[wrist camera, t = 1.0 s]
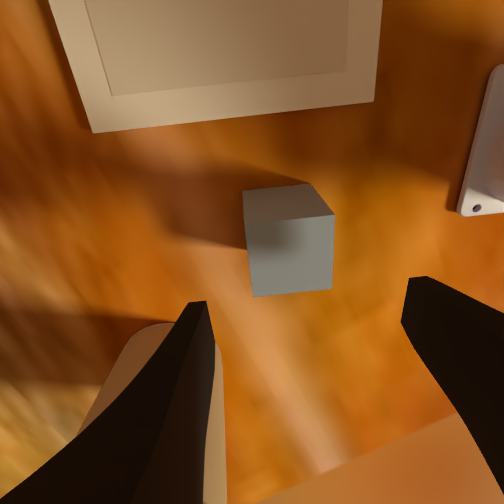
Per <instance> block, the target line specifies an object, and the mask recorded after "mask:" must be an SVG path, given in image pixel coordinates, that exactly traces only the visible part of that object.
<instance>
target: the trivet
mask: <svg viewBox="0 0 504 504" xmlns="http://www.w3.org/2000/svg"><path fill="white" fill-rule="evenodd" d="M48 1H49V4H50V7H51V10H52V13H53V16H54V19H55V22H56V25H57V28H58V31H59V34H60V37H61V40H62V43H63V46H64V49H65V52H66V55H67V58H68V61H69V64H70V66H71V69H72V72H73V75H74V78H75V81H76V84H77V87H78V90H79V93H80V96H81V99H82V102H83V105H84V108H85V111H86V114H87V117H88V120H89V123H90V126H91V129H92V132H93V133H102V132H111V131H120V130H128V129H137V128H146V127H155V126H164V125H173V124H181V123H190V122H199V121H208V120H217V119H226V118H234V117H243V116H252V115H261V114H270V113H278V112H287V111H296V110H305V109H314V108H323V107H331V106H340V105H349V104H358V103H367V102H374V94H375V83H376V72H377V61H378V50H379V39H380V27H381V16H382V5H383V0H48Z"/></svg>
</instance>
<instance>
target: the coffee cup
mask: <svg viewBox="0 0 504 504" xmlns="http://www.w3.org/2000/svg"><path fill="white" fill-rule="evenodd" d="M174 324H175V323H160V324H154V325H151V326H148V327H145V328H143V329H141V330H140V331H138V332H136V333H135V334H134V335H133V336H132V337H131V338H130V339H129V340H128V342H127V343H126V345H125V347H124V348H123V350H122V352H121V353H120V355H119V357H118V359H117V361H116V362H115V364H114V366H113V368H112V370H111V372H110V374H109V375H108V377H107V379H106V381H105V383H104V385H103V387H102V388H101V390H100V392H99V394H98V396H97V398H96V400H95V401H94V403H93V405H92V407H91V409H90V411H89V413H88V414H87V416H86V418H85V420H84V422H83V424H82V426H81V428H80V430H79V431H78V433H77V435H76V436H78V435H79V434H80V433H81V432H82V431H83V430H84V429H85V428H86V427H87V426H88V425H89V424H90V423H91V422H92V421H93V420H95V419H96V418H97V417H98V416H99V415H100V414H101V413H102V412H103V411H104V410H105V409H106V408H107V407H108V406H109V405H110V404H111V403H112V402H113V401H114V400H115V399H116V398H117V397H118V395H119V394H120V393H121V392H122V391H123V390H124V389H125V388H126V387H127V386H128V384H129V383H130V382H131V381H132V380H133V379H134V377H135V376H136V375H137V374H138V373H139V372H140V370H141V369H142V368H143V367H144V365H145V364H146V363H147V361H148V360H149V359H150V358H151V356H152V355H153V354H154V353H155V351H156V350H157V348H158V347H159V346H160V344H161V343H162V341H163V340H164V339H165V337H166V336H167V334H168V333H169V332H170V330H171V329H172V327H173V326H174ZM203 504H227V484H226V451H225V421H224V394H223V370H222V357H221V353H220V350H219V348H218V346H217V344H216V343H215V373H214V381H213V389H212V397H211V404H210V412H209V419H208V427H207V434H206V445H205V463H204V487H203Z"/></svg>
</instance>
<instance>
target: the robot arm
mask: <svg viewBox="0 0 504 504" xmlns="http://www.w3.org/2000/svg"><path fill="white" fill-rule="evenodd" d="M475 205H477V206H476V208H475V209H473V207H474V206H475ZM503 212H504V64H500V65H498V66H497V67H495V68H494V69H493V71H492V72H491V74H490V77H489V81H488V85H487V89H486V93H485V97H484V101H483V105H482V109H481V113H480V117H479V121H478V125H477V129H476V133H475V137H474V141H473V145H472V149H471V153H470V157H469V161H468V165H467V169H466V173H465V177H464V181H463V185H462V189H461V193H460V197H459V201H458V205H457V213H458V214H460V215H462V216H465V217H467V216H476V215H485V214H494V213H503ZM401 324H402V326H403V328H404V330H405V332H406V334H407V336H408V338H409V340H410V342H411V344H412V345H413V347H414V349H415V350H416V352H417V353H418V355H419V356H420V358H421V359H422V361H423V362H424V364H425V365H426V367H427V368H428V370H429V371H430V372H431V374H432V375H433V377H434V378H435V380H436V381H437V382H438V384H439V385H440V387H441V388H442V390H443V391H444V393H445V394H446V395H447V397H448V398H449V400H450V401H451V403H452V404H453V405H454V407H455V408H456V410H457V412H458V413H459V415H460V416H461V418H462V419H463V421H464V423H465V424H466V426H467V428H468V430H469V431H470V433H471V435H472V437H473V438H474V440H475V442H476V444H477V446H478V447H479V449H480V451H481V453H482V454H483V456H484V458H485V460H486V462H487V464H488V466H489V468H490V469H491V471H492V473H493V475H494V477H495V479H496V481H497V483H498V484H499V486H500V488H501V490H502V492H503V494H504V313H502V312H500V311H498V310H496V309H494V308H491V307H489V306H487V305H485V304H483V303H481V302H479V301H477V300H475V299H473V298H471V297H469V296H467V295H465V294H463V293H461V292H459V291H457V290H455V289H453V288H451V287H449V286H447V285H445V284H443V283H441V282H439V281H437V280H435V279H432V278H430V277H428V276H422V277H413V278H409V281H408V286H407V292H406V297H405V302H404V307H403V313H402V318H401ZM214 373H215V339H214V335H213V330H212V325H211V321H210V316H209V312H208V307H207V303H206V301H198V302H189V303H188V304H187V305H186V307H185V309H184V310H183V312H182V313H181V315H180V316H179V318H178V320H177V321H176V323H175V324H174V326H173V327H172V329H171V330H170V332H169V333H168V334H167V336H166V337H165V339H164V340H163V341H162V343H161V344H160V346H159V347H158V348H157V350H156V351H155V353H154V354H153V355H152V356H151V358H150V359H149V360H148V361H147V363H146V364H145V365H144V367H143V368H142V369H141V370H140V372H139V373H138V374H137V375H136V376H135V377H134V379H133V380H132V381H131V382H130V383H129V384H128V386H127V387H126V388H125V389H124V390H123V391H122V392H121V393H120V394H119V395H118V397H117V398H116V399H115V400H114V401H113V402H112V403H111V404H110V405H109V406H108V407H107V408H106V409H105V410H104V411H103V412H102V413H101V414H100V415H99V416H98V417H97V418H96V419H95V420H93V421H92V422H91V423H90V424H89V425H88V426H87V427H86V428H85V429H84V430H83V431H82V432H81V433H80V434H79V435H78V436H76V437H75V438H74V439H73V440H72V441H71V442H70V443H69V444H67V445H66V446H65V447H64V448H63V449H62V450H61V451H59V452H58V453H57V454H56V455H55V456H53V457H52V458H51V459H50V460H49V461H48V462H46V463H45V464H44V465H43V466H42V467H40V468H39V469H38V470H37V471H35V472H34V473H33V474H32V475H31V476H29V477H28V478H27V479H25V480H24V481H23V482H22V483H20V484H19V485H18V486H16V487H15V488H14V489H12V490H11V491H10V492H9V493H7V494H6V495H5V496H3V497H2V498H1V499H0V504H203V487H204V463H205V445H206V434H207V427H208V419H209V412H210V404H211V397H212V389H213V381H214Z"/></svg>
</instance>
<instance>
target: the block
mask: <svg viewBox="0 0 504 504" xmlns="http://www.w3.org/2000/svg"><path fill="white" fill-rule="evenodd" d="M242 197H243V213H244V227H245V235H246V243H247V251H248V260H249V268H250V276H251V284H252V292H253V297H260V296H269V295H278V294H287V293H297V292H306V291H315V290H324V289H332V277H333V251H334V226H335V214H334V213H333V212H332V210H331V209H330V208H329V207H328V205H327V204H326V203H325V202H324V200H323V199H322V198H321V196H320V195H319V194H318V193H317V191H316V190H315V189H314V188H313V186H312V185H311V184H310V183H307V184H298V185H290V186H281V187H272V188H263V189H254V190H245V191H242Z"/></svg>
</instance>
